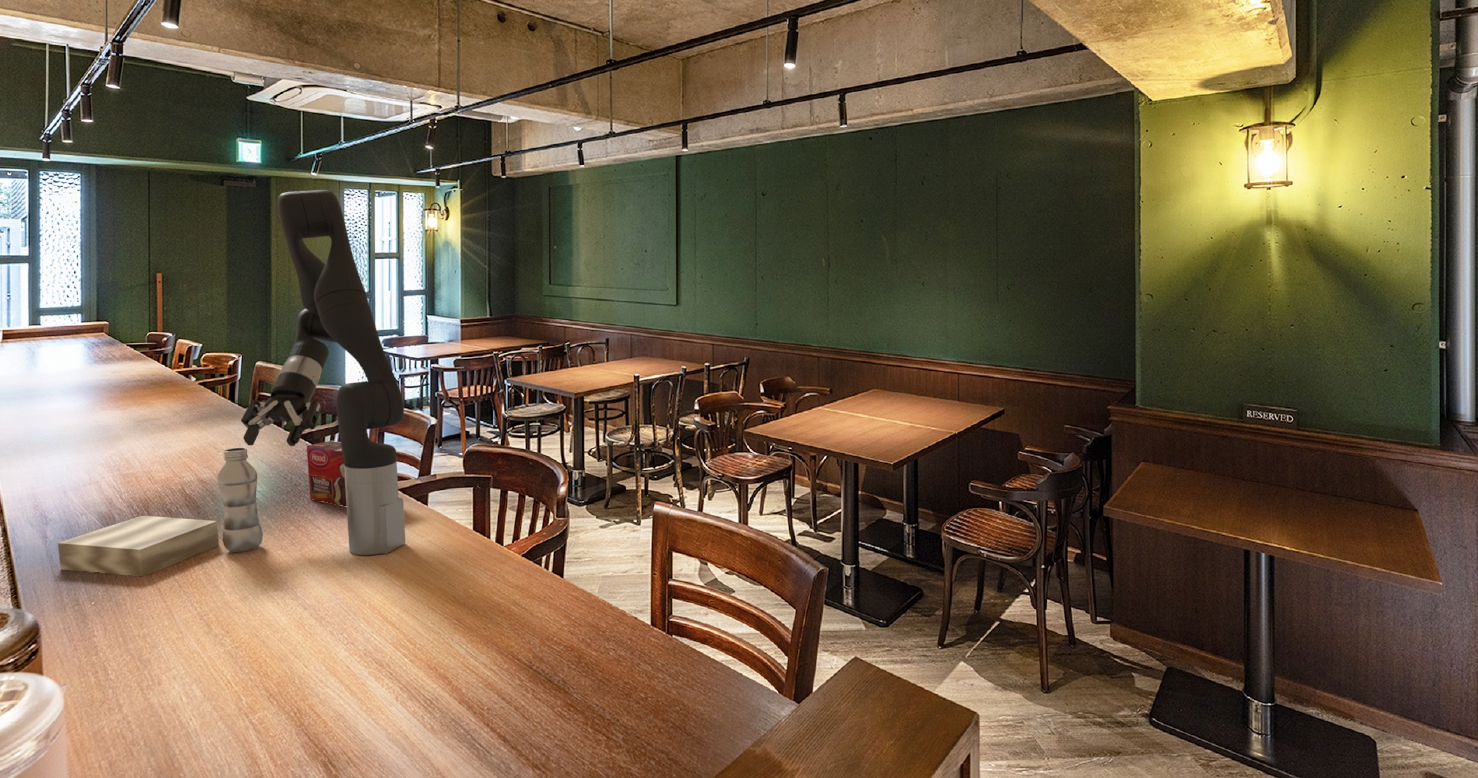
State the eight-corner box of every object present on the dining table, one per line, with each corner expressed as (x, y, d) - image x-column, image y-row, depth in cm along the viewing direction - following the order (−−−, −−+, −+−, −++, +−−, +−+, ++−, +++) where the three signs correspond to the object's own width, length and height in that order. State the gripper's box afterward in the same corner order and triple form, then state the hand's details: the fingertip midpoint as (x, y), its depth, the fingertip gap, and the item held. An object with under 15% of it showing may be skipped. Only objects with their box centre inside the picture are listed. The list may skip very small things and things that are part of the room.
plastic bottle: (244, 556, 140) (236, 454, 137) (214, 553, 141) (205, 452, 139) (272, 545, 146) (264, 447, 143) (243, 542, 148) (235, 445, 145)
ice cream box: (391, 504, 174) (389, 449, 172) (368, 512, 168) (365, 455, 166) (334, 493, 182) (331, 440, 180) (310, 500, 177) (306, 445, 175)
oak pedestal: (218, 545, 146) (216, 521, 145) (142, 576, 130) (139, 549, 129) (144, 539, 148) (142, 515, 148) (60, 569, 133) (57, 543, 132)
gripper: (255, 370, 158) (224, 433, 148) (323, 371, 158) (295, 434, 148) (272, 391, 164) (243, 453, 154) (337, 391, 164) (312, 453, 154)
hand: (269, 443), depth 151 cm, fingers open, 8 cm apart
